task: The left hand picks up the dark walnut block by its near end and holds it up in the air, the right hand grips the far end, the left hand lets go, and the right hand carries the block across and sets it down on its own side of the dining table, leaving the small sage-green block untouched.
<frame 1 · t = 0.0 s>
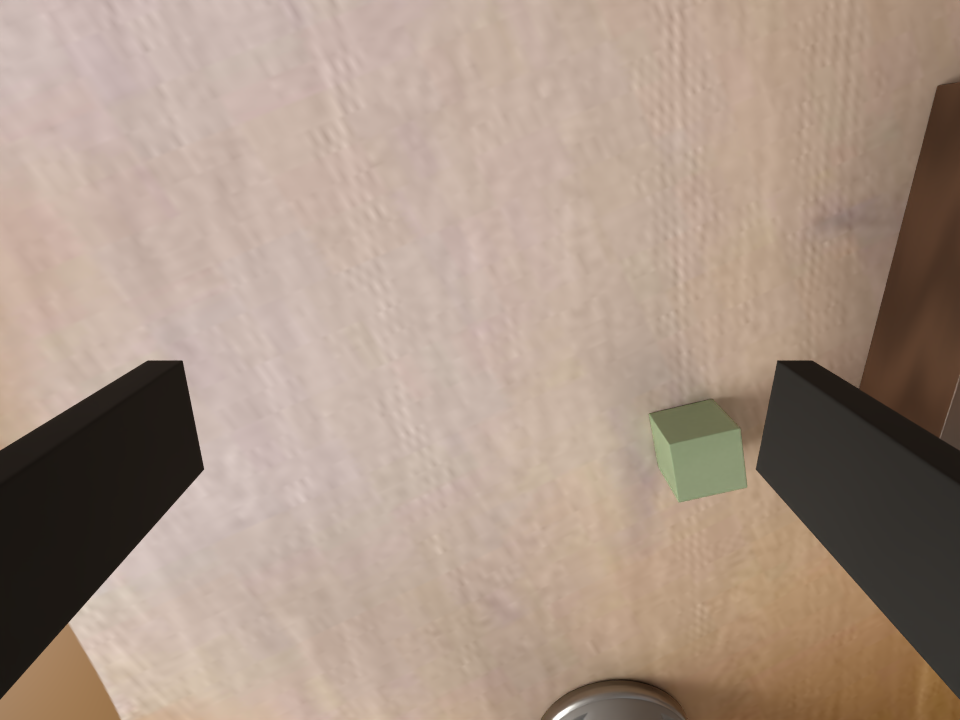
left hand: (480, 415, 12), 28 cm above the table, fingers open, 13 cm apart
sage block: (684, 433, 44), on the table
walnut block: (917, 271, 39), on the table
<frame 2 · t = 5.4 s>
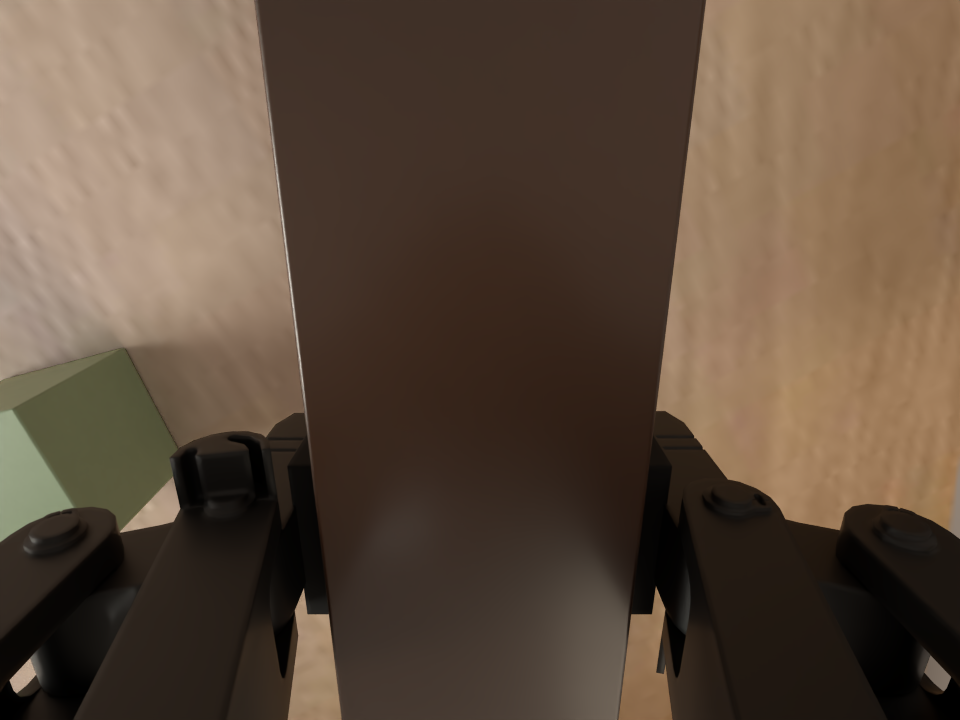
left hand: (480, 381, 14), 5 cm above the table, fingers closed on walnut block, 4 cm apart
sage block: (97, 422, 21), on the table
walnut block: (479, 7, 12), point 5 cm above the table, touching left hand
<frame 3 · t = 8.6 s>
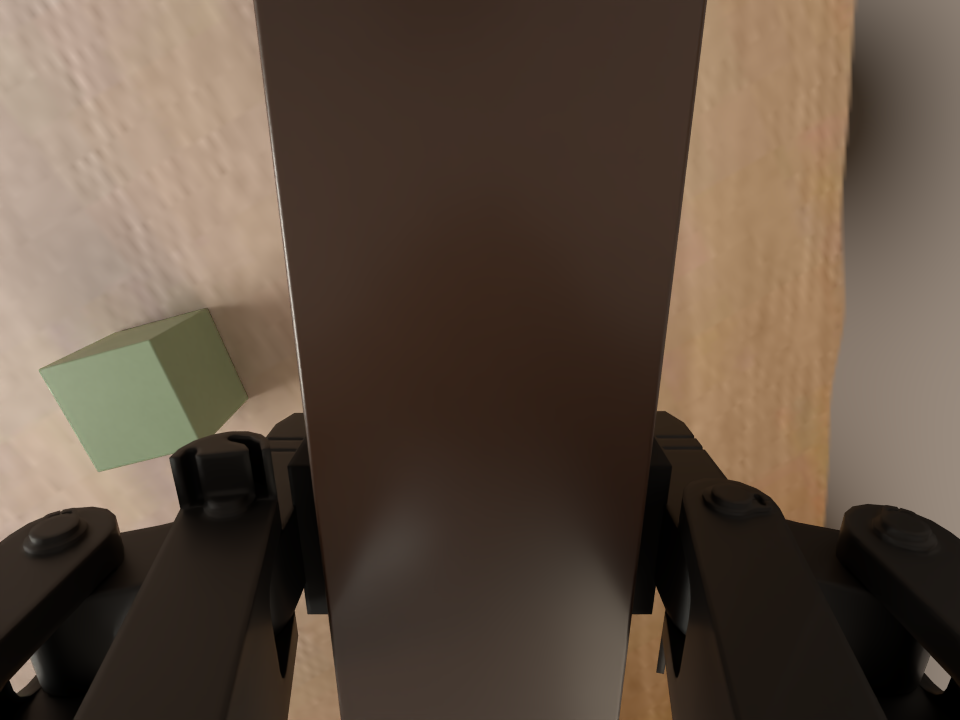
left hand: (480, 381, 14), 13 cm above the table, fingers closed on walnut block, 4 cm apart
sage block: (183, 366, 28), on the table
walnut block: (479, 7, 12), point 12 cm above the table, touching left hand
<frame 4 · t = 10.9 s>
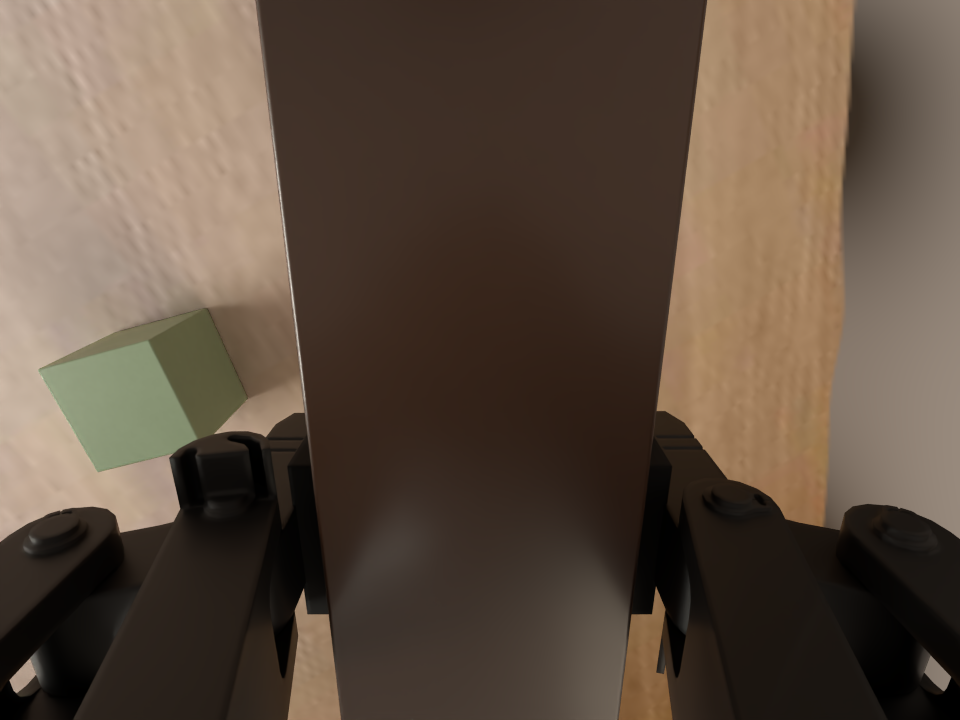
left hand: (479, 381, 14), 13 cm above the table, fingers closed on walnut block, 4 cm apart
sage block: (182, 366, 28), on the table
walnut block: (479, 7, 12), point 12 cm above the table, touching left hand, right hand
when the left hand's fingers open (13 cm above the table, at t = 11.8 s): walnut block stays where it is, held by the right hand.
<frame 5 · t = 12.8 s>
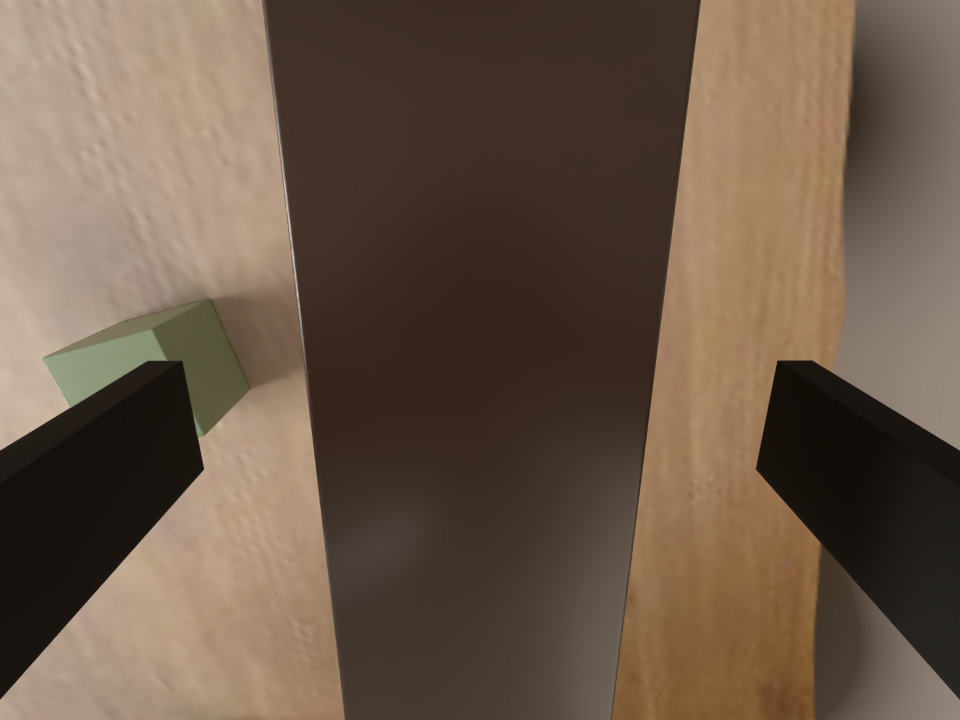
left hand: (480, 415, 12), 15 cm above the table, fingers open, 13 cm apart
sage block: (185, 357, 28), on the table
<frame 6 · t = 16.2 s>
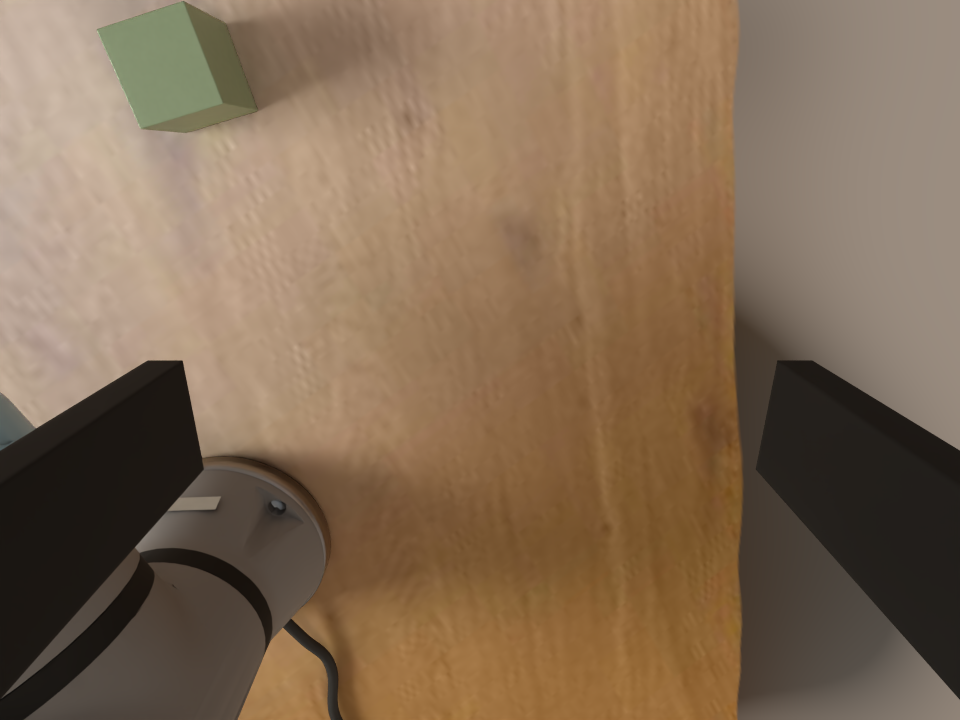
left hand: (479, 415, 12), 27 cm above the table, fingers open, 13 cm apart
sage block: (205, 79, 34), on the table
when the right hand's fingers open (5 cm above the table, at t = 21.8 s): walnut block stays where it is, on the table.
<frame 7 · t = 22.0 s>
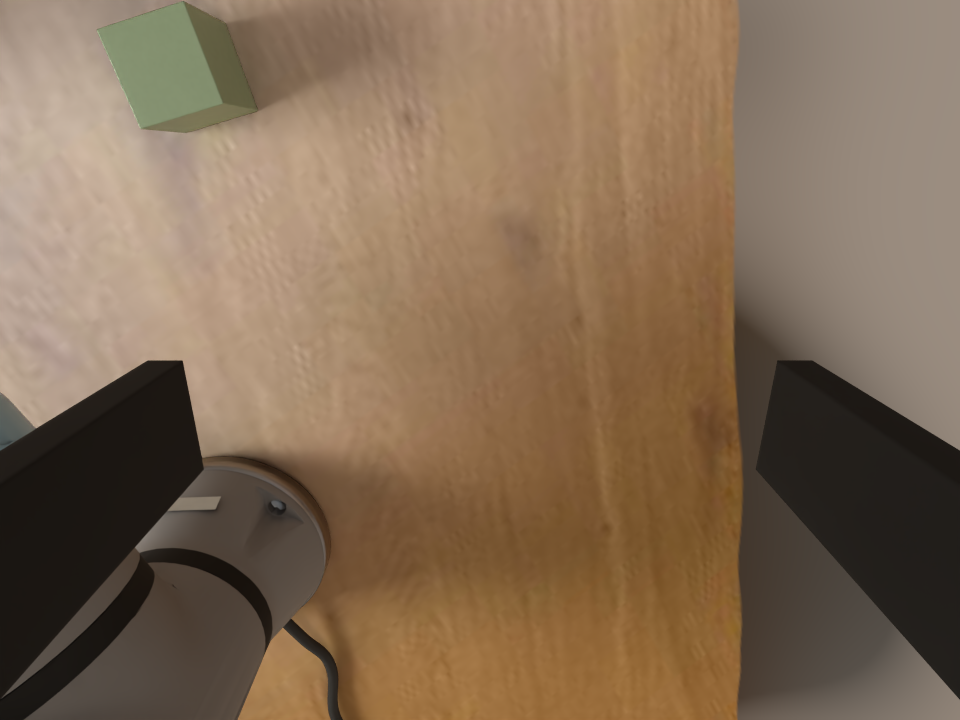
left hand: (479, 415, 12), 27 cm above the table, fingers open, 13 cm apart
sage block: (205, 79, 34), on the table
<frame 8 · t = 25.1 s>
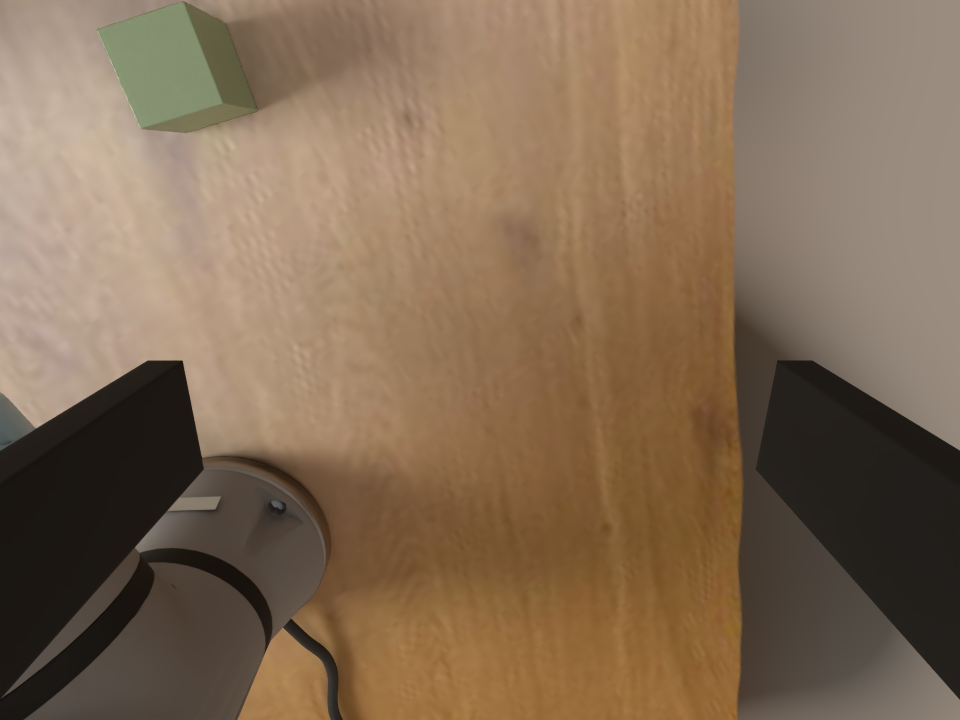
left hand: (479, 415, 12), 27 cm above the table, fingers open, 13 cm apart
sage block: (205, 79, 34), on the table
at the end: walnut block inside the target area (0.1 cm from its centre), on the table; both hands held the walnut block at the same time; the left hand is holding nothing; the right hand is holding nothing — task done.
